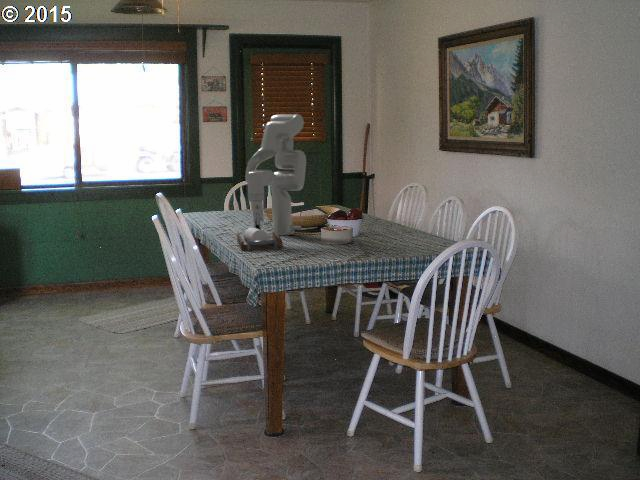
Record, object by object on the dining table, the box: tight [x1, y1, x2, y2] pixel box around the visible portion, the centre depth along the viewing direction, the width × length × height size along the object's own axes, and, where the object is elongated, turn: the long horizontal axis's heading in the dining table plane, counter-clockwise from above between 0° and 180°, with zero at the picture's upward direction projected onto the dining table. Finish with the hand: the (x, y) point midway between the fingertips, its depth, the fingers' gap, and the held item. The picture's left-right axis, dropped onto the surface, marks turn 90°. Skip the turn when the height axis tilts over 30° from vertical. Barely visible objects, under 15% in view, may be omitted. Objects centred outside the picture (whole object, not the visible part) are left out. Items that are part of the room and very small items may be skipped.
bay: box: [236, 230, 283, 252], centre depth 358 cm, size 18×30×4 cm, turn 10°
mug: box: [243, 226, 273, 243], centre depth 358 cm, size 12×10×8 cm
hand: (257, 236), depth 365 cm, fingers closed
